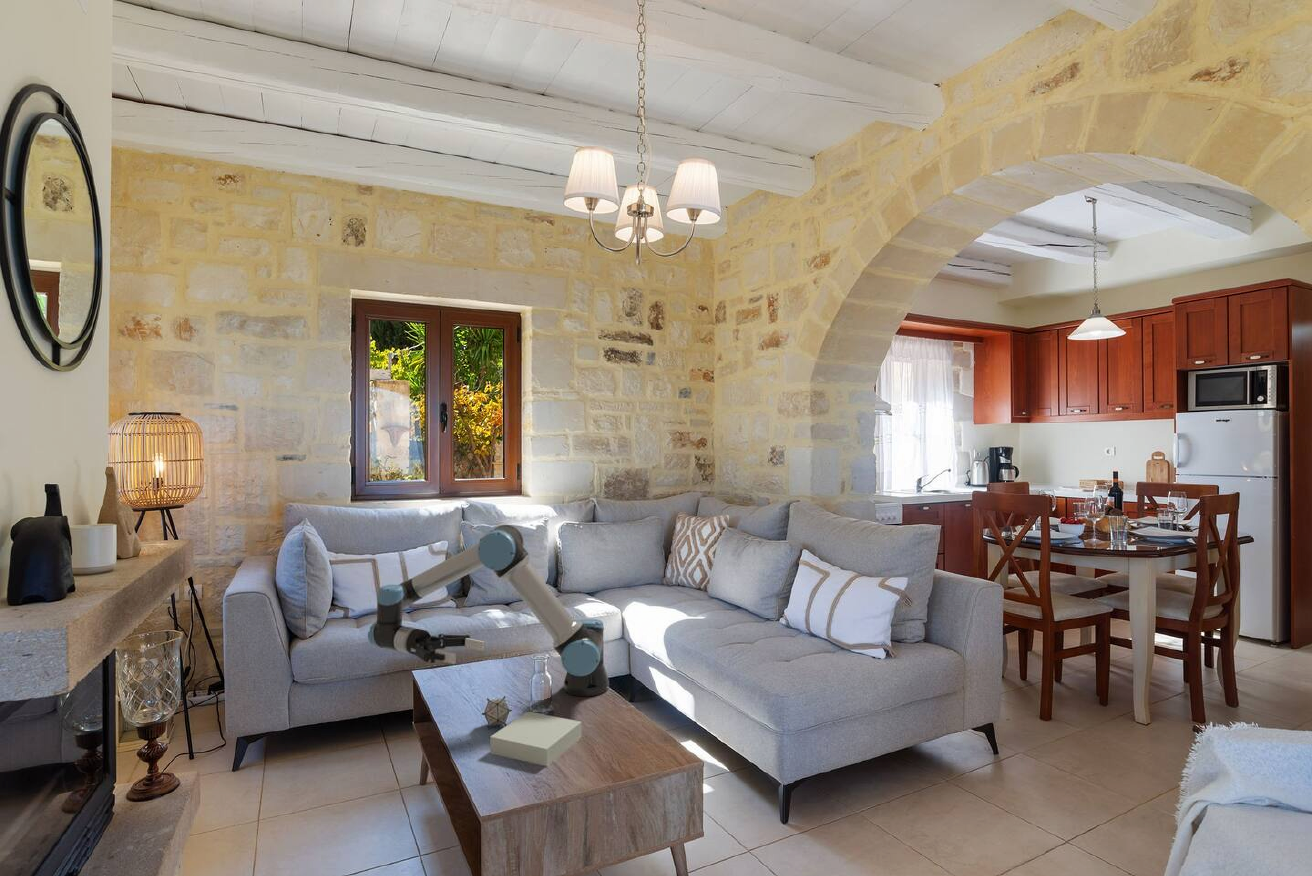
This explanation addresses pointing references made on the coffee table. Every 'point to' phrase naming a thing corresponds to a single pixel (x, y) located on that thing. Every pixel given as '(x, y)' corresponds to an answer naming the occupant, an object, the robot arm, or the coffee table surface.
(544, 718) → the base block
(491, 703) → the game die
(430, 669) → the coffee table surface
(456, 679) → the coffee table surface
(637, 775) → the coffee table surface
